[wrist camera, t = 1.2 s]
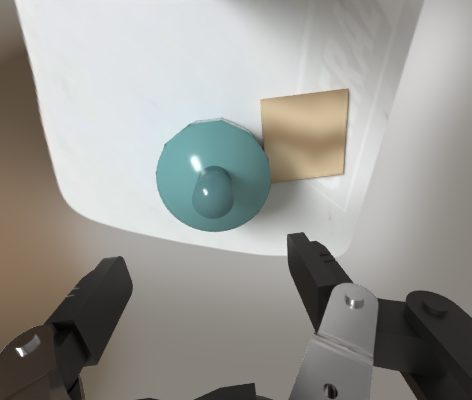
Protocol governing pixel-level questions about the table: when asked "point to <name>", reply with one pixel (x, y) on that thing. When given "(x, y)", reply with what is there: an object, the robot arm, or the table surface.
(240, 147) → the teal lid with knob
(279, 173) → the board
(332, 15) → the table surface
